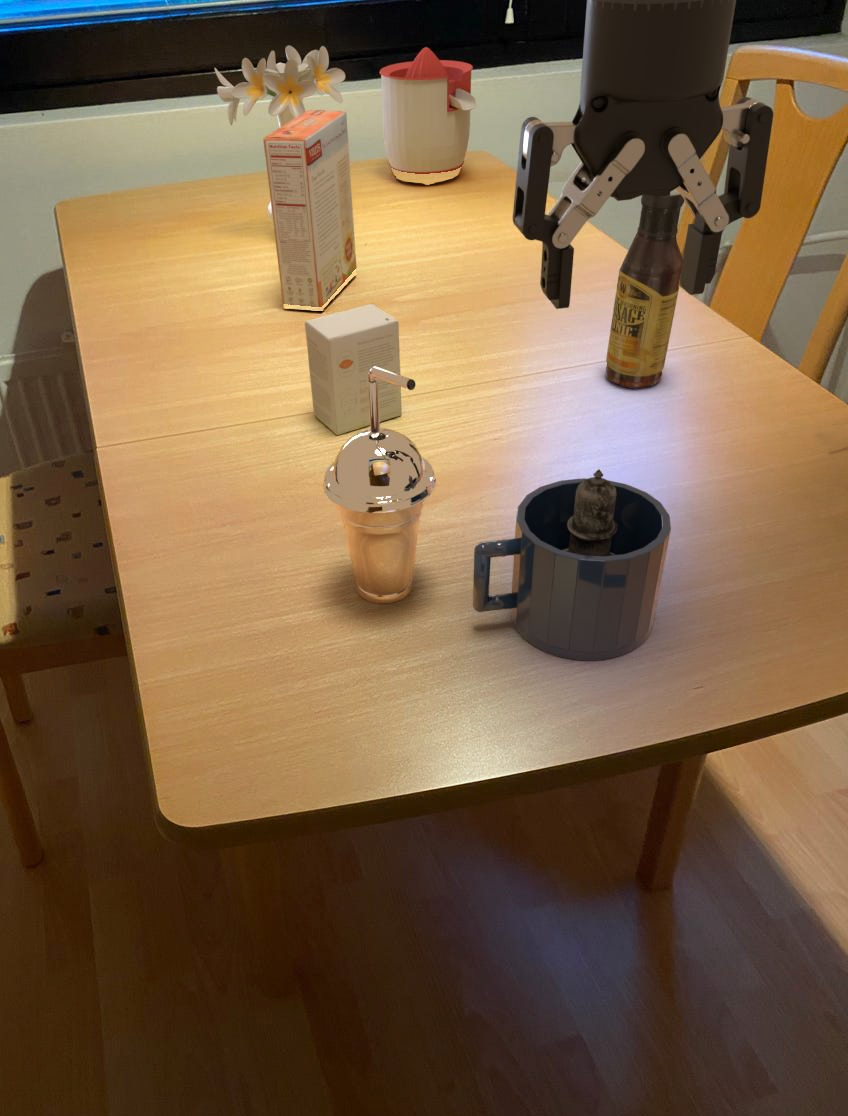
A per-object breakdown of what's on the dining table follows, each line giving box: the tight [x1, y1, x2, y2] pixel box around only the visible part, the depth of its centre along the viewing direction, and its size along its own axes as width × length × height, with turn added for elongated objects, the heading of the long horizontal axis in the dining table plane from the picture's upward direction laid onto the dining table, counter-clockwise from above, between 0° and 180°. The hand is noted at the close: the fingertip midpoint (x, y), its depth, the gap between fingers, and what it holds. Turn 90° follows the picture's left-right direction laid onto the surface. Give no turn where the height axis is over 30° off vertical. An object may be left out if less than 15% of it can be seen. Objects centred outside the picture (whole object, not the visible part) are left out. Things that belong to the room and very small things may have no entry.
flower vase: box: [214, 45, 346, 227], centre depth 142 cm, size 13×18×25 cm
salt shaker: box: [563, 469, 617, 556], centre depth 70 cm, size 6×6×12 cm
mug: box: [472, 477, 672, 661], centre depth 72 cm, size 14×11×9 cm
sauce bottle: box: [605, 189, 685, 389], centre depth 99 cm, size 7×6×20 cm
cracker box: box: [262, 109, 357, 307], centre depth 124 cm, size 14×6×21 cm, turn 161°
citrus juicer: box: [379, 46, 477, 174], centre depth 165 cm, size 16×17×20 cm
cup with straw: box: [322, 366, 437, 604], centre depth 72 cm, size 8×9×20 cm
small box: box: [304, 303, 403, 436], centre depth 99 cm, size 8×6×10 cm
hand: (625, 297), depth 60 cm, fingers open, 8 cm apart
